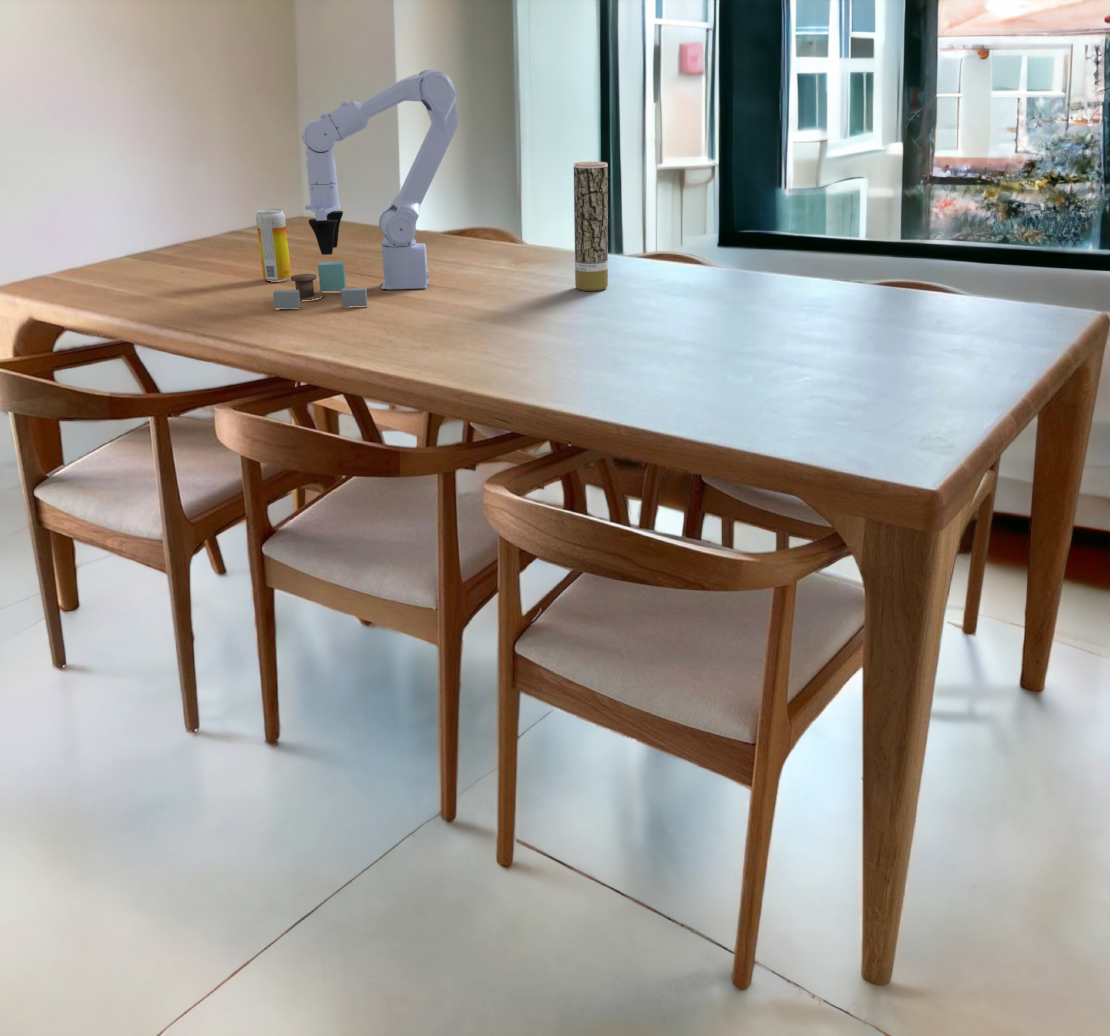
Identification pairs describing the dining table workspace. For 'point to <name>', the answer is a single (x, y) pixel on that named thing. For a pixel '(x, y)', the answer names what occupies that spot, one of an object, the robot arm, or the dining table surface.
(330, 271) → the block
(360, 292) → the grey bricks
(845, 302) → the dining table surface
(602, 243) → the paper tube
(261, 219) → the beer can
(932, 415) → the dining table surface
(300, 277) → the bobbin
